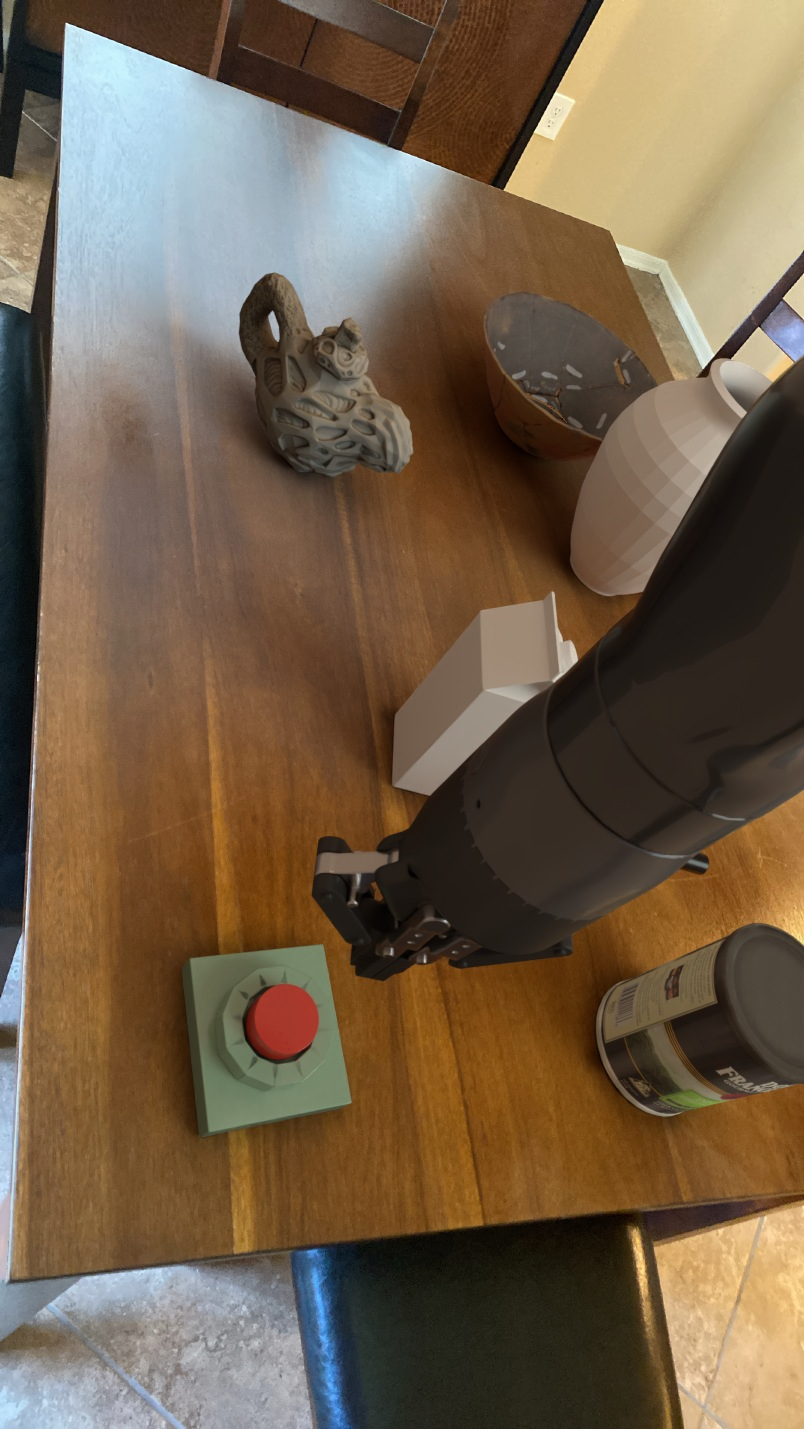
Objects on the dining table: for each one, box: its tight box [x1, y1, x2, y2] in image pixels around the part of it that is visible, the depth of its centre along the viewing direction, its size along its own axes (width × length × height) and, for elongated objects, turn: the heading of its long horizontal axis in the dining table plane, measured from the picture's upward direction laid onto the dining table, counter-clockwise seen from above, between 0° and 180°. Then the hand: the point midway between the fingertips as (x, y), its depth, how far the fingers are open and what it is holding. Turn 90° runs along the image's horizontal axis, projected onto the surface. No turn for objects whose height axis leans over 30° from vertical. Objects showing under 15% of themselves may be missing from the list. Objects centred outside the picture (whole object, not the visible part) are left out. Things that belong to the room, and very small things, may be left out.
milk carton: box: [391, 590, 579, 797], centre depth 66 cm, size 7×7×19 cm
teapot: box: [238, 272, 414, 478], centre depth 80 cm, size 21×12×15 cm, turn 53°
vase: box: [569, 358, 774, 597], centre depth 88 cm, size 18×18×25 cm
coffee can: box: [595, 922, 804, 1117], centre depth 62 cm, size 10×10×14 cm
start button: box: [246, 984, 319, 1060], centre depth 52 cm, size 4×4×2 cm
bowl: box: [481, 291, 659, 463], centre depth 103 cm, size 25×25×10 cm
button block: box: [181, 943, 353, 1138], centre depth 54 cm, size 10×9×4 cm
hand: (369, 959), depth 44 cm, fingers closed
